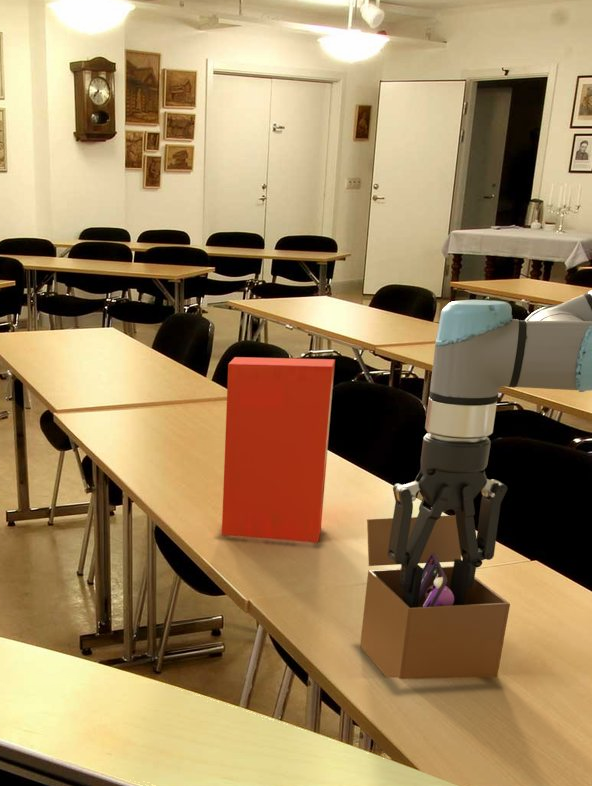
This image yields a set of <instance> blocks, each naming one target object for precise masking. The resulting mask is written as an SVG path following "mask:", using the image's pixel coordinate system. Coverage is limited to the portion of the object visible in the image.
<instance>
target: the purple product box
mask: <svg viewBox="0 0 592 786" xmlns="http://www.w3.org/2000/svg"><path fill="white" fill-rule="evenodd" d="M424 564H425V565H424V566H423V567H422V568H423V573H422V581H421V588H420V595H419V599H420V597H421V596H422V594H423V592H424V590H425V588H426V586H427V585H428V583H429V581H430V579H431V577H432V575H433V578H435V580H434V585H432V586H431V587H429V588H428V589H427V591H426V593H425V598H426V601H425V604H424V605H423V607H427V605H428V604H430V606H429V607H435V606H452V604H453V603H454V595H453V593H452V592H451V590H450V589H449V588H448V587H447V586H446V583H447V578H446V576H445V573H444V571H443V569H442V567H443V566H442V565H441V562H439V561H438V558H437V556H436V554H435V553H431V555H430V557H429V559H428V561H427V563H424ZM438 571H439V572H438ZM440 576H442V577H440Z"/></svg>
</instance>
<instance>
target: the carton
mask: <svg viewBox="0 0 592 786" xmlns="http://www.w3.org/2000/svg"><path fill="white" fill-rule="evenodd" d="M453 566H454V565H449V566H448V565H447V566H441V567H442V569H443V571H444V573H445V576H446V578H447V583H446V586H447V587H448V588H449V589H450V586H451V580H452V573H453ZM421 568H422V569H423V568H424V567H421ZM400 572H401V568H392V569H391V568H390V569H389V568H388V569H371V570H370V569H369V570H368V571H367V579H366V589H365V597H364V604H363V605H364V607H363V613H362V615H363V616H362V626H361V634H360V641H359V647H360V648H361V649H362V650H363V652H364V653H365V654H366V655H367V657H368V658H369V659H370V660H371V661H372V662H373V664H374V665H375V666H376V667H377V668H378V669H379V671H380V672H381V673H382V674H383V675H384V677H385V678H387V679H390V678H392V679H393V678H398V679H399V680H405V679H408V680H409V679H411V680H413V679H414V680H415V679H451V678H453V679H455V678H491V677H492V678H493V677H494V678H495V677H498V675H499V670H500V663H501V657H502V652H503V647H504V643H505V642H504V641H505V636H506V630H507V623H508V618H509V612H510V607H511V603H510V602H509V601H507V600H506V599H504V598H503V597H502V596H501V595H499V594H498V593H497V592H495V590H493V589H491V587H489V586H487V584H485V583H483V582H482V581H481V580H479V579H478V578H477V577H476V576H475V578H474V584H473V585H472V587H467V591H466V598H465V604H464V605H454V606H435V607H429V606H430V604H428V605H427V607H423V605H424V604H425V601H426V598H425V593H426V591H427V589H428V588H429V587H431V586H432V585H434V580H435V578H433V575H432V577H431V579H430V581H429V583H428V585H427V586H426V588H425V590H424V592H423V594H422V596H421V597H420V599H419V603H418V607H416V608H410V607H409V606H408V605H407V604H406V603H405V602H404V601H403V598H404V589H403V588H401V587H400V584H399V580H400ZM438 572H439V571H438ZM440 577H442V576H440Z"/></svg>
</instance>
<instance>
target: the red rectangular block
mask: <svg viewBox="0 0 592 786" xmlns="http://www.w3.org/2000/svg"><path fill="white" fill-rule="evenodd" d="M335 365H336V359H333V358H331V359H330V358H329V359H328V358H291V357H289V358H288V357H287V358H285V357H252V356H251V357H249V356H248V357H247V356H246V357H245V356H234V357H233V358H232V359H231V361H229V363H228V365H227V384H226V385H227V386H226V387H227V390H226V410H225V411H226V412H225V413H226V415H225V436H224V437H225V438H224V440H225V441H224V463H223V464H224V465H223V489H222V491H223V494H222V515H221V517H222V518H221V535H222V536H234V537H245V538H255V539H256V538H257V539H269V540H279V541H280V540H282V541H293V542H305V543H316V544H318V543H319V539H320V534H321V529H322V522H323V521H322V520H323V508H324V499H325V498H324V496H325V486H326V485H325V483H326V474H327V473H326V472H327V460H328V449H329V437H330V424H331V412H332V400H333V389H334V379H335V378H334V377H335V367H336V366H335Z"/></svg>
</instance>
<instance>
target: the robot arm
mask: <svg viewBox="0 0 592 786" xmlns="http://www.w3.org/2000/svg"><path fill="white" fill-rule="evenodd" d="M512 310H513V309H512V305H511V304H510V303H509V302H507V301H503V300H502V301H501V300H487V299H462V300H455V301H451V302H449V303H447V304H446V305H445V306H444V307H443V308H442V310H441V311H440V317H439V322H438V327H437V333H436V339H435V343H434V353H433V360H432V361H433V362H432V369H431V370H432V371H431V379H430V388H429V395H428V402H427V410H426V418H425V424H424V425H425V426H424V429H425V430H426V432H427V433H426V434H425V435H424V436H423V438H422V439H423V440H422V447H421V454H420V455H421V456H420V470H419V472H418V474H417V475H416V477H415V480H414V481H411V482H408V483H406V484H405V483H404V484H401V483H399V482H398V483H395V484H394V485H393V487H392V491H393V497H394V501H395V502H394V510H393V516H392V518H393V522H392V528H391V534H390V541H389V547H388V556H389V557H390V558H391V559H392V560H393V561H394V562H395V563H397V564H399V565H401V566H400V569H401V572H400V580H399V584H400V587H401V588H403V589H404V598H403V601H404V602H405V603H406V604H407V605H408V606H409V607H410V608H416V607H418V603H419V595H420V588H421V581H422V573H423V569H422V568H423V567H421V566H420V565H419V564H420V563H419V560H420V558H421V556H422V553H423V551H424V549H425V546H426V544H427V542H428V539H429V537H430V534H431V532H432V530H433V527H434V525H435V523H436V520H437V519H439V518H440V516H442V514H443V512H446V511H450V510H453V512H454V515H455V517H456V523H457V530H458V537H459V544H460V551H461V559H455V560H454V562H453V565H452V566H453V573H452V580H451V586H450V590H451V592H452V593H453V595H454V603H453V604H452V606H454V605H464V604H465V598H466V591H467V587H472V585H473V584H474V578H475V577H476V571H477V568H478V569H479V568H480V567H482V565H483V561H484V560H487V561H489V560H490V561H491V560H492V559H493V558H494V556H495V551H496V543H497V535H498V527H499V521H500V520H499V519H500V512H501V505H502V502H503V499H504V497H505V496H506V494H507V492H508V486H507V485H506V484H504V483H502V482H501V481H499V480H497V479H495V478H492V479H488V477H487V474H486V469H487V467H488V462H489V458H490V457H489V456H490V449H491V443H492V441H491V440H490V438H489V436H491V435H492V434H493V433H494V425H495V419H496V411H497V405H498V399H499V391H500V388H512V389H513V388H523V389H524V388H529V389H543V390H544V389H545V390H563V391H578V393H584V392H588V391H589V392H591V391H592V290H589V291H588V292H586V293H584V294H581V295H578V296H575V297H574V298H571V299H570V300H569V299H568V300H567V301H565V302H562V303H559V304H552V305H551V304H550V305H546V306H543V307H540V308H538V309H537V310H535V311H533V312H531V314H529V315H528V316H527V317H526V318H525V319H523V320H521V319H520V320H519V319H517V318H516V319H515V318H513V315H512ZM418 492H419V493H420V495H421V497H422V499H421V502H420V504H419V507H418V514H417V516H416V517H417V519H416V521H415V524H414V526H413V528H412V531H411V533H410V536H409V530H410V524H411V518H412V517H413V511H414V503H413V502H415V501H416V499H417V493H418ZM480 493H481V495H482V496H481V500H480V507H479V515H478V524H477V529H476V524H475V515H476V510H475V503H474V500H475V499H476V498H477V496H479V494H480ZM476 531H477V532H476ZM408 536H409V538H408ZM418 563H419V564H418Z"/></svg>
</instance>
